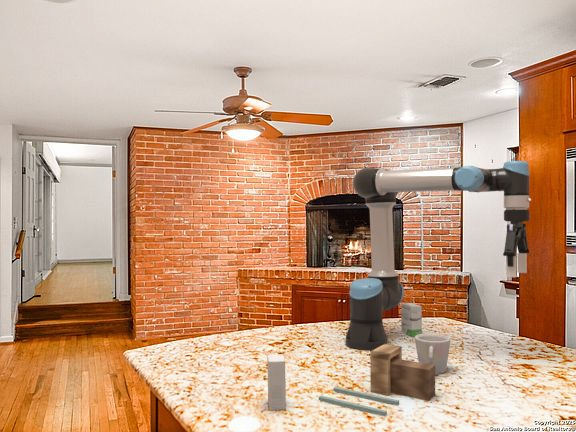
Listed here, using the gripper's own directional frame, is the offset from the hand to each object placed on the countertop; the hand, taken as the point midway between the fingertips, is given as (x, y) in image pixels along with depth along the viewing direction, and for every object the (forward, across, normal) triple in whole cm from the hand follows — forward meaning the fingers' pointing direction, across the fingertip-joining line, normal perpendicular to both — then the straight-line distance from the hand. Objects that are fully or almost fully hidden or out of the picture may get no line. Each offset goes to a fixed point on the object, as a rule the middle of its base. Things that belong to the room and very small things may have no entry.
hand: (516, 274), depth 159 cm
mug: (+28, -29, +16) cm, 43 cm away
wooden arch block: (+27, -50, +21) cm, 60 cm away
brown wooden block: (+28, -49, +17) cm, 59 cm away
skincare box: (+28, -77, +37) cm, 90 cm away
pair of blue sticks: (+27, -63, +22) cm, 72 cm away
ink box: (+28, +11, +42) cm, 51 cm away
